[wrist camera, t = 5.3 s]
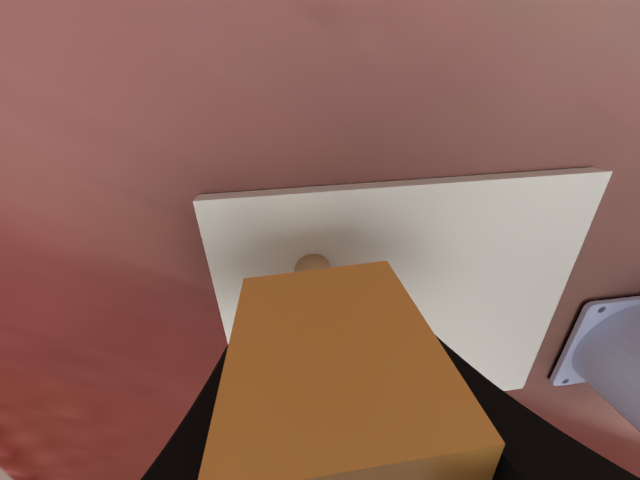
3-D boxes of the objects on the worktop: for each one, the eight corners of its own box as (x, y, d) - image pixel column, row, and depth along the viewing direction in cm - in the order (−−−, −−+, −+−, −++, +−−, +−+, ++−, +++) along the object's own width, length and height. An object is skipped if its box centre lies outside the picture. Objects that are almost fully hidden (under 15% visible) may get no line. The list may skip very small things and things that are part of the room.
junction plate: (592, 166, 15) (707, 191, 11) (513, 376, 22) (564, 438, 18) (198, 194, 13) (161, 235, 9) (249, 412, 20) (241, 489, 16)
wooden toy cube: (386, 260, 10) (505, 443, 5) (383, 360, 12) (460, 562, 7) (243, 278, 10) (193, 498, 4) (266, 378, 12) (252, 604, 7)
